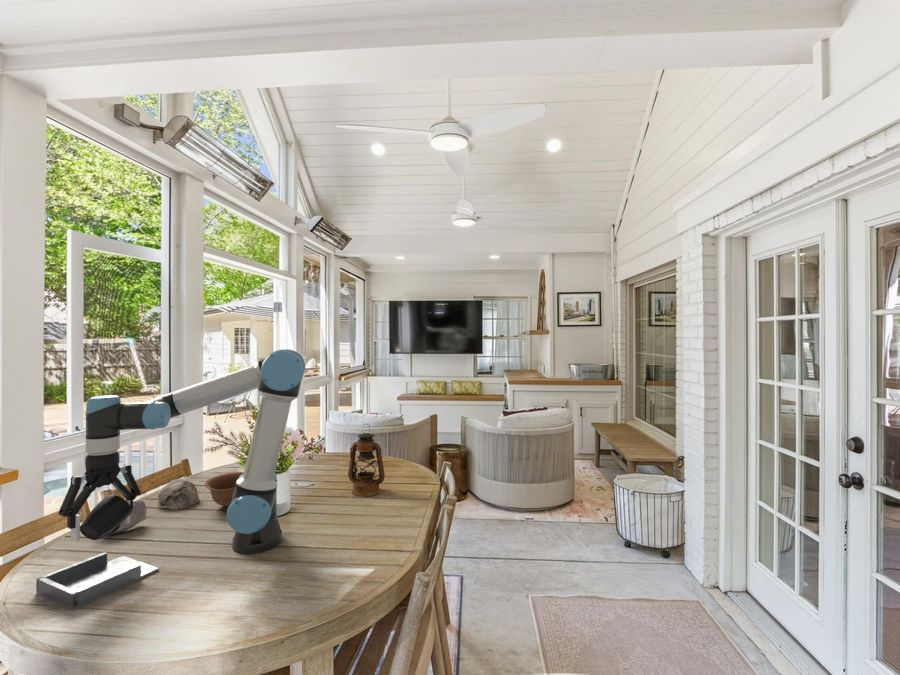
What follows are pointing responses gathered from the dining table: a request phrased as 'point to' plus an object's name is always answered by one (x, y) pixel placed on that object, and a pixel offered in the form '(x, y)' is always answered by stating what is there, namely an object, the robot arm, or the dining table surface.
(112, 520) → the black rounded cylinder
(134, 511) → the mauve grey rounded block
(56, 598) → the grey rectangular tray
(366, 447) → the lantern
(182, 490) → the rock
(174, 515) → the dining table surface
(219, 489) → the bowl
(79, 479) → the robot arm
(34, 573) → the dining table surface
